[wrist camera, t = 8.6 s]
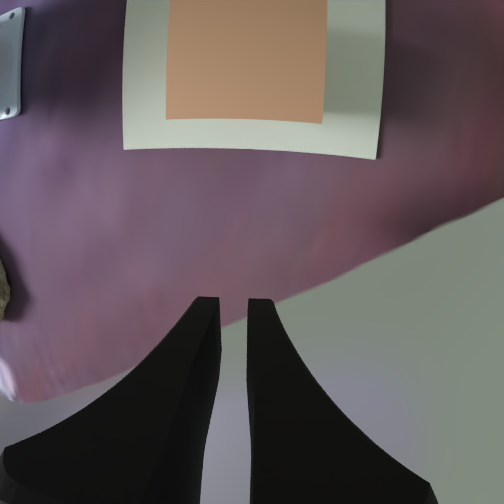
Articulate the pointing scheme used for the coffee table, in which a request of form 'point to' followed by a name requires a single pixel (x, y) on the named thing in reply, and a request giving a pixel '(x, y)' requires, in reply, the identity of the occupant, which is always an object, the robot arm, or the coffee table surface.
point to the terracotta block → (246, 59)
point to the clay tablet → (3, 290)
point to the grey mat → (253, 130)
